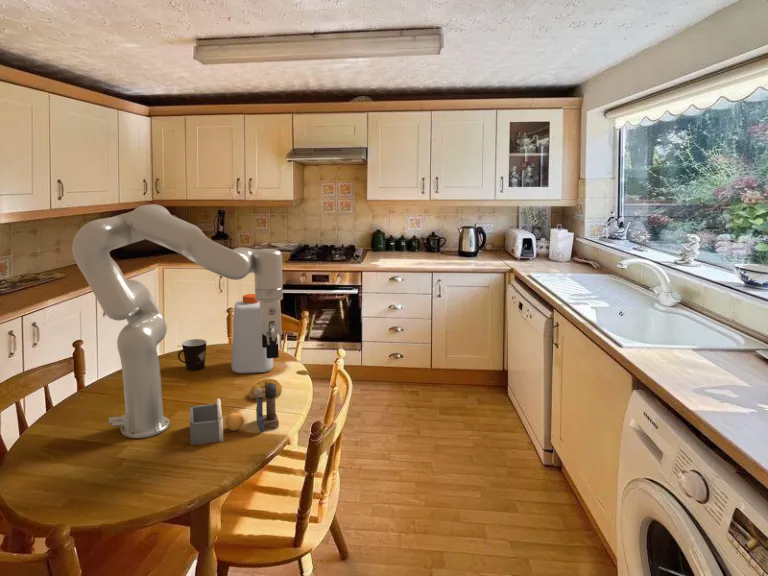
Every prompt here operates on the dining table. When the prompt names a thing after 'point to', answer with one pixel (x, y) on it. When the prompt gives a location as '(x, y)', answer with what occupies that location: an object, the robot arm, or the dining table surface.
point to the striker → (271, 417)
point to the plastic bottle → (248, 338)
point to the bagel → (262, 385)
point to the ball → (234, 421)
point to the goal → (206, 423)
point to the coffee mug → (194, 354)
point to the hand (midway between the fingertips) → (270, 352)
